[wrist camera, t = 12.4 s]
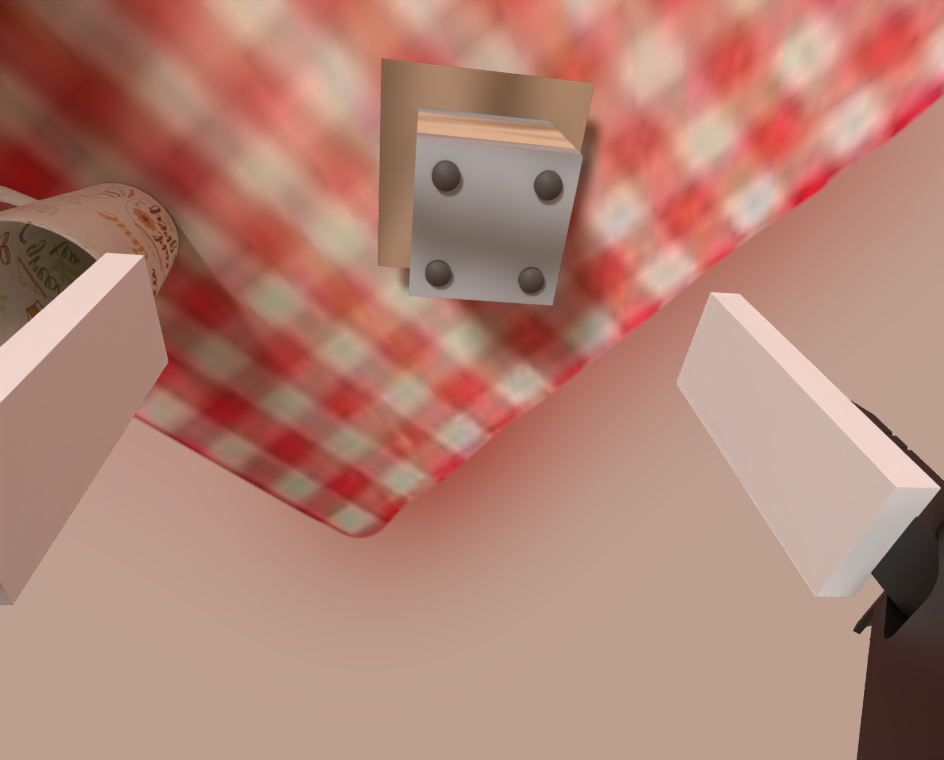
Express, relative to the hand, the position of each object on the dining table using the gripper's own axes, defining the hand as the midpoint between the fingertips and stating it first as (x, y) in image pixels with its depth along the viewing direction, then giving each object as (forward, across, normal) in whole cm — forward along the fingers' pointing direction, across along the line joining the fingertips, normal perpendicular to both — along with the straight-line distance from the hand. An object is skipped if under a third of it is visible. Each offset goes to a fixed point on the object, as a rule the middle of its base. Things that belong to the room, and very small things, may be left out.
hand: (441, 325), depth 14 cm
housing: (+21, +3, -2) cm, 21 cm away
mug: (+24, -20, -7) cm, 32 cm away
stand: (+24, +3, -2) cm, 24 cm away
